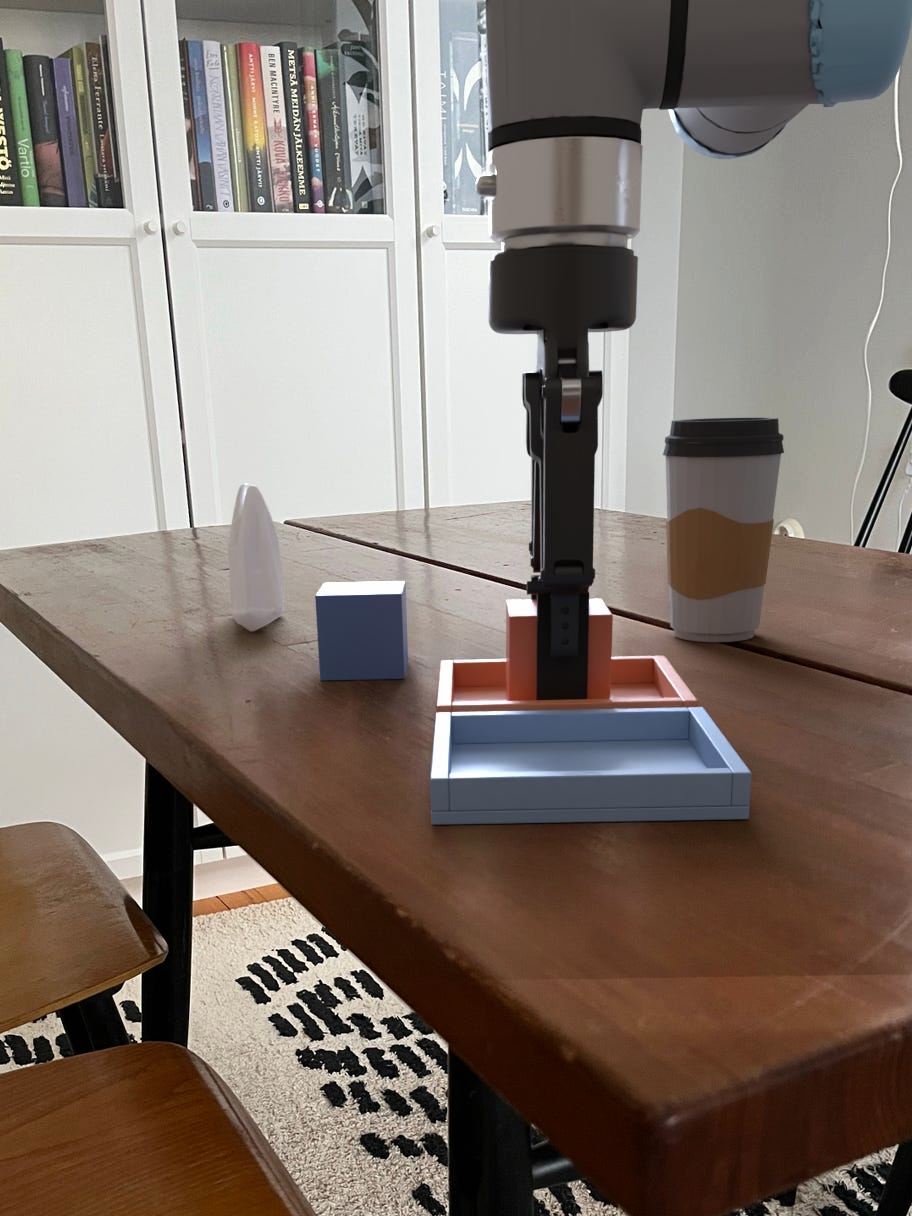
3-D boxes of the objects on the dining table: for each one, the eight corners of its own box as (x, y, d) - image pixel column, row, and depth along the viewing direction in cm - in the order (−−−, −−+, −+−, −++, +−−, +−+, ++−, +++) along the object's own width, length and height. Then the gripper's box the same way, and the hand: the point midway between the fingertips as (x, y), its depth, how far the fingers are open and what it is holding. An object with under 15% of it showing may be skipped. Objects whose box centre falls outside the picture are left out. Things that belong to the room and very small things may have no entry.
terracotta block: (599, 692, 74) (602, 598, 72) (609, 715, 69) (613, 614, 67) (505, 693, 74) (506, 599, 72) (509, 716, 69) (509, 616, 67)
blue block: (408, 661, 87) (405, 580, 85) (404, 679, 82) (401, 593, 80) (328, 663, 87) (324, 582, 85) (320, 680, 82) (315, 595, 80)
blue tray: (701, 746, 65) (703, 706, 64) (749, 819, 54) (752, 772, 53) (436, 751, 65) (435, 712, 64) (431, 825, 54) (430, 778, 54)
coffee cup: (788, 629, 94) (803, 416, 89) (747, 649, 87) (760, 421, 82) (684, 621, 98) (692, 417, 93) (637, 639, 92) (643, 422, 87)
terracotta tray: (663, 689, 77) (665, 655, 76) (696, 739, 66) (698, 700, 65) (441, 694, 77) (440, 660, 77) (437, 744, 66) (436, 705, 66)
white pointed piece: (286, 635, 97) (277, 486, 93) (232, 638, 97) (219, 488, 93) (284, 610, 108) (276, 476, 104) (235, 612, 108) (224, 478, 104)
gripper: (485, 265, 72) (488, 666, 80) (491, 228, 55) (494, 744, 63) (616, 262, 72) (606, 664, 80) (665, 223, 55) (646, 742, 63)
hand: (557, 699), depth 71 cm, fingers closed on terracotta block, 5 cm apart
